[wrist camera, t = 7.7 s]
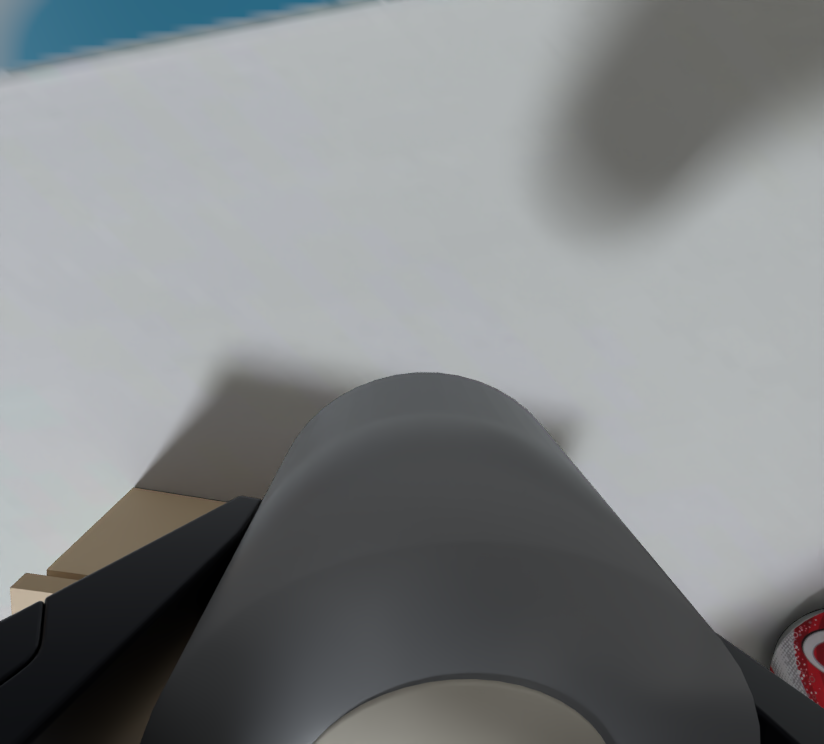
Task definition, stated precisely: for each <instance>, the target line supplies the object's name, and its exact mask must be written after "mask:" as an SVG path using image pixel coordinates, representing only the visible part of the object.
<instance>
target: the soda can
mask: <svg viewBox="0 0 824 744" xmlns="http://www.w3.org/2000/svg"><path fill="white" fill-rule="evenodd" d="M770 671H771V672H773V673H774V674H775V675H777V676H778V677H780V678H781V679H783V680H784V681H785V682H787V683H788V684H790V685H791V686H793V687H794V688H795V689H797V690H798V691H800V692H801V693H802V694H804V695H805V696H807V697H808V698H810V699H811V700H812V701H814V702H815V703H817V704H818V705H820V706H821V707H822V708H824V609H821V610H818V611H815V612H812V613H810V614H807V615H805V616H803V617H802V618H800V619H798V620H797V621H795V622H794V623H793V624H792V625H790V626H789V627H788V628H787V629H786V630H785V632H784V633H783V634H782V635H781V637H780V638H779V640H778V642H777V644H776V647H775V651H774V655H773V657H772V661H771V665H770Z"/></svg>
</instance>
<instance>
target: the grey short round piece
mask: <svg viewBox="0 0 824 744" xmlns="http://www.w3.org/2000/svg"><path fill="white" fill-rule="evenodd" d="M140 744H760V725H759V721H758V717H757V712H756V708H755V703H754V699H753V696H752V693H751V691H750V689H749V687H748V684H747V682H746V680H745V677H744V675H743V673H742V671H741V668H740V667H739V665H738V664H737V662H736V661H735V659H734V658H733V656H732V655H731V653H730V652H729V651H728V649H727V648H726V646H725V645H724V643H723V642H722V640H721V639H720V638H719V637H718V635H717V634H716V633H715V632H714V631H713V629H712V628H711V627H710V626H709V625H708V624H707V622H706V621H705V620H704V619H703V618H702V616H701V615H700V614H699V613H698V612H697V610H696V609H695V608H694V607H693V606H692V604H691V603H690V602H689V601H688V600H687V598H686V597H685V596H684V595H683V594H682V592H681V591H680V590H679V589H678V588H677V586H676V585H675V584H674V583H673V582H672V580H671V579H670V578H669V577H668V576H667V574H666V573H665V572H664V571H663V570H662V568H661V567H660V566H659V565H658V564H657V562H656V561H655V560H654V559H653V558H652V556H651V555H650V554H649V553H648V552H647V551H646V549H645V548H644V547H643V546H642V545H641V543H640V542H639V541H638V540H637V539H636V537H635V536H634V535H633V534H632V533H631V531H630V530H629V529H628V528H627V527H626V525H625V524H624V523H623V522H622V521H621V519H620V518H619V517H618V516H617V515H616V513H615V512H614V511H613V510H612V509H611V507H610V506H609V505H608V504H607V503H606V501H605V500H604V499H603V498H602V497H601V495H600V494H599V493H598V492H597V491H596V489H595V488H594V487H593V486H592V485H591V483H590V482H589V481H588V480H587V479H586V478H585V476H584V475H583V474H582V473H581V472H580V470H579V469H578V468H577V467H576V466H575V464H574V463H573V462H572V461H571V460H570V458H569V457H568V456H567V455H566V454H565V452H564V451H563V450H562V449H561V448H560V446H559V445H558V444H557V443H556V442H555V440H554V439H553V438H552V437H551V436H550V434H549V433H548V432H547V431H546V430H545V428H544V427H543V426H542V425H541V424H540V423H539V422H538V420H537V419H536V418H535V417H534V416H533V415H532V414H531V413H530V412H529V411H528V410H527V409H526V408H524V407H523V406H522V405H521V404H519V403H518V402H517V401H516V400H514V399H513V398H511V397H510V396H508V395H506V394H504V393H503V392H501V391H499V390H498V389H496V388H494V387H491V386H489V385H486V384H484V383H482V382H479V381H476V380H473V379H469V378H465V377H462V376H458V375H451V374H443V373H418V372H417V373H408V374H400V375H394V376H390V377H386V378H382V379H377V380H374V381H372V382H369V383H367V384H364V385H361V386H359V387H356V388H354V389H353V390H351V391H349V392H347V393H345V394H343V395H342V396H340V397H338V398H337V399H335V400H334V401H333V402H331V403H330V404H328V405H327V406H326V407H324V408H323V409H322V410H321V411H320V412H319V413H318V414H317V415H315V416H314V417H313V418H312V419H311V420H310V421H309V422H308V423H307V425H306V426H305V427H304V428H303V430H302V431H301V432H300V434H299V435H298V436H297V437H296V439H295V441H294V442H293V444H292V446H291V448H290V449H289V451H288V453H287V455H286V457H285V458H284V460H283V462H282V464H281V466H280V468H279V470H278V472H277V474H276V476H275V477H274V479H273V481H272V483H271V485H270V487H269V489H268V491H267V493H266V495H265V497H264V498H263V500H262V502H261V504H260V506H259V508H258V510H257V512H256V514H255V516H254V517H253V519H252V521H251V523H250V525H249V527H248V529H247V531H246V533H245V535H244V537H243V538H242V540H241V542H240V544H239V546H238V548H237V550H236V552H235V554H234V556H233V557H232V559H231V561H230V563H229V565H228V567H227V569H226V571H225V573H224V575H223V576H222V578H221V580H220V582H219V584H218V586H217V588H216V590H215V592H214V594H213V596H212V597H211V599H210V601H209V603H208V605H207V607H206V609H205V611H204V613H203V615H202V616H201V618H200V620H199V622H198V624H197V626H196V628H195V630H194V632H193V634H192V636H191V637H190V639H189V641H188V643H187V645H186V647H185V649H184V651H183V653H182V655H181V656H180V658H179V660H178V662H177V664H176V666H175V668H174V670H173V672H172V674H171V675H170V677H169V679H168V681H167V683H166V685H165V687H164V689H163V691H162V693H161V695H160V696H159V698H158V700H157V702H156V704H155V706H154V708H153V710H152V713H151V715H150V718H149V721H148V723H147V726H146V729H145V731H144V734H143V736H142V739H141V743H140Z"/></svg>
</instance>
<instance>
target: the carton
mask: <svg viewBox="0 0 824 744" xmlns="http://www.w3.org/2000/svg"><path fill="white" fill-rule="evenodd" d="M225 503H227V502H222V501H216V500H209V499H203V498H197V497H190V496H184V495H178V494H171V493H165V492H159V491H152V490H146V489H140V488H132V489H131V490H130V491H129V492H128V493H127V494H126V495H125V496H124V497H123V498H122V499H121V500H120V501H119V502H117V503H116V504H115V505H114V506H113V507H112V508H111V509H110V510H109V511H108V512H107V513H106V514H105V515H104V516H103V517H102V518H101V519H100V520H98V521H97V522H96V523H95V524H94V525H93V526H92V527H91V528H90V529H89V530H88V531H87V532H86V533H85V534H84V535H83V536H82V537H81V538H79V539H78V540H77V541H76V542H75V543H74V544H73V545H72V546H71V547H70V548H69V549H68V550H67V551H66V552H65V553H64V554H63V555H61V556H60V557H59V558H58V559H57V560H56V561H55V562H54V563H53V564H52V565H51V566H50V567H49V568H48V569H47V576H52V577H59V578H66V579H74V580H80V579H82V578H84V577H86V576H88V575H90V574H92V573H93V572H95V571H97V570H99V569H101V568H103V567H105V566H107V565H109V564H111V563H113V562H114V561H116V560H118V559H120V558H122V557H124V556H126V555H128V554H130V553H132V552H133V551H135V550H137V549H139V548H141V547H143V546H145V545H147V544H149V543H151V542H153V541H154V540H156V539H158V538H160V537H162V536H164V535H166V534H168V533H170V532H172V531H174V530H175V529H177V528H179V527H181V526H183V525H185V524H187V523H189V522H191V521H193V520H194V519H196V518H198V517H200V516H202V515H204V514H206V513H208V512H210V511H212V510H214V509H215V508H217V507H219V506H221V505H223V504H225Z"/></svg>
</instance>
